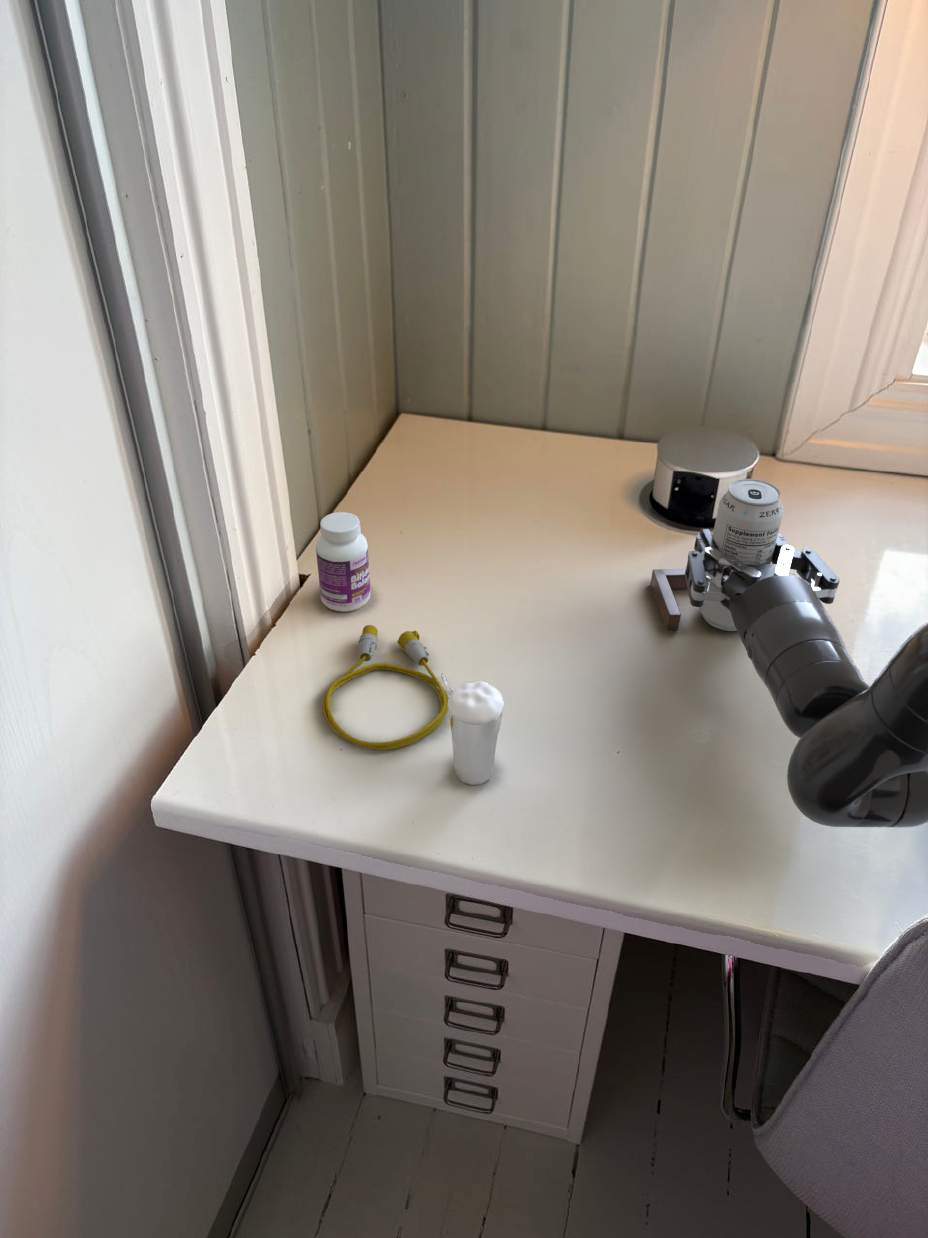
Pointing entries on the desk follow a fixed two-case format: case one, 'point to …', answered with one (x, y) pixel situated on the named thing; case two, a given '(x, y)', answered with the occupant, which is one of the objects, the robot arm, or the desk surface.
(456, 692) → the milkshake
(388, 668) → the extension cord
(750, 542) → the energy drink can
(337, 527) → the pill bottle
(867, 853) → the desk surface
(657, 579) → the bay
